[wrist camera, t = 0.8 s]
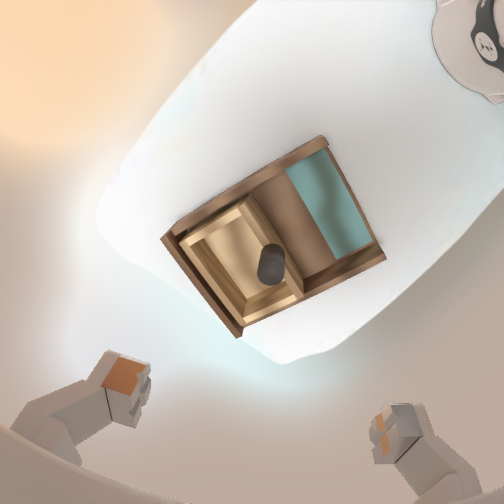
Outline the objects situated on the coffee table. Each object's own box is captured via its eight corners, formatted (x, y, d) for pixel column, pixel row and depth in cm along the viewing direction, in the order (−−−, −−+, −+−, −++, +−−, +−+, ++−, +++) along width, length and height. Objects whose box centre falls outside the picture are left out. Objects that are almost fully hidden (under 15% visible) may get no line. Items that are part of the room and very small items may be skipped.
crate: (256, 188, 42) (246, 212, 32) (308, 272, 46) (313, 315, 36) (191, 227, 45) (165, 260, 35) (245, 302, 50) (235, 348, 40)
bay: (320, 135, 39) (326, 138, 33) (377, 244, 45) (390, 265, 38) (176, 221, 46) (159, 239, 40) (242, 311, 52) (236, 338, 45)
